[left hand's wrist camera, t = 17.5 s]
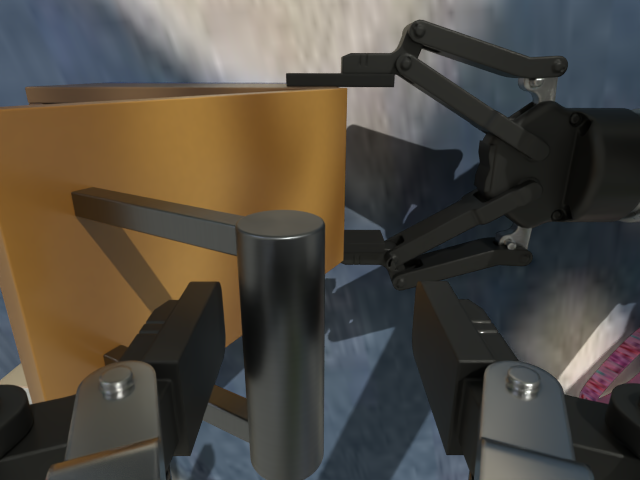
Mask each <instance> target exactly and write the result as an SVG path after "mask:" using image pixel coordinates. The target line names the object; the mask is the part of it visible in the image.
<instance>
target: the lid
mask: <svg viewBox="0 0 640 480" xmlns="http://www.w3.org/2000/svg"><path fill="white" fill-rule="evenodd" d="M346 118H347V88H323V89H306V90H288V91H271V92H253V93H236V94H218V95H201V96H183V97H166V98H148V99H131V100H113V101H96V102H78V103H61V104H44V105H26V106H9V107H0V287H1V291H2V294H3V298H4V302H5V305H6V309H7V313H8V316H9V320H10V324H11V327H12V331H13V335H14V338H15V342H16V346H17V349H18V353H19V357H20V360H21V364H22V368H23V371H24V375H25V379H26V382H27V386H28V390H29V393H30V397H31V400H32V404H34V403H39V402H44V401H49V400H54V399H58V398H63V397H67V396H71V395H74V394H76V392H77V388H78V386H79V384H80V383H81V382H82V381H83V379H84V378H86V377H87V376H88V375H89V374H91V373H92V372H94V371H95V370H97V369H99V368H101V367H103V366H106V365H109V364H112V363H116V362H118V361H119V359H120V358H121V357H122V355H123V354H124V352H125V351H126V349H127V348H128V347H129V345H130V344H131V342H132V341H133V339H134V338H135V336H136V335H137V334H139V331H140V329H141V328H142V326H143V325H144V324H146V321H147V319H148V318H149V316H150V315H151V314H152V312H153V311H154V310H155V309H156V308H158V307H159V306H161V305H162V304H164V303H165V302H167V301H168V300H179V298H180V297H181V295H182V294H183V292H184V290H185V289H186V287H187V286H188V284H189V283H190V282H192V281H219V282H220V284H221V288H222V297H223V309H224V321H225V332H226V345H225V348H226V347H227V346H228V345H230V344H231V343H232V342H234V341H235V340H236V339H238V338H239V337H240V336H242V338H243V353H244V368H245V383H246V398H247V399H246V398H244V397H242V396H239V395H237V394H235V393H232V392H230V391H228V390H225V389H223V388H221V387H219V386H216V385H214V387H213V390H212V393H211V396H210V399H209V402H208V405H207V408H206V411H205V414H204V417H203V420H204V421H206V422H208V423H210V424H212V425H214V426H216V427H218V428H220V429H222V430H224V431H226V432H228V433H230V434H232V435H234V436H236V437H238V438H240V439H243V440H245V441H247V442H249V443H250V457H251V463H252V465H253V467H254V469H255V470H256V471H257V473H258V474H259V475H261V476H262V477H263V478H265V479H267V480H304V479H306V478H307V477H309V476H310V475H312V474H313V473H314V472H315V471H316V470H317V469H318V467H319V465H320V464H321V462H322V459H323V455H324V339H325V274H326V273H327V272H328V271H330V270H331V269H333V268H334V267H335V266H337V265H338V264H339V263H341V262H342V261H343V253H344V208H345V163H346Z"/></svg>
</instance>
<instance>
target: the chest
mask: <svg viewBox="0 0 640 480" xmlns="http://www.w3.org/2000/svg"><path fill="white" fill-rule="evenodd" d="M323 88H339V87H337V86H286V83H93V84H73V85H53V86H34V87H26V88H25V90H26V94H27V99H28V102H29V103H30V104H29V105H44V104H61V103H78V102H96V101H113V100H131V99H148V98H166V97H183V96H201V95H218V94H236V93H253V92H271V91H288V90H306V89H323Z"/></svg>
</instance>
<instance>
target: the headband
mask: <svg viewBox="0 0 640 480" xmlns="http://www.w3.org/2000/svg"><path fill="white" fill-rule="evenodd" d="M639 354H640V328H639V329H637V330H636V331H635V332H634V333H633V334H632V335H631V336H629V337H628V338H627V339H626V340H625V341H624V342H623V343H622V344H621V345H620V346H619V347H618V348H617V349H616V350H615V351H614V352H613V354H612V355H611V356H610V357H609V358H608V359H607V360H606V361H605V362H604V363H603V364H602V365H601V366H600V368H599V369H598V370H597V371H596V372H595V373H594V374H593V376H592V377H591V378H590V379H589V380H588V382H587V383H586V384H585V386H584V387H583V389H582V391H581V393H580V396H579V398H582V399H587V400H591V401H596V402H601V403H606V404H608V403H609V400H610V396H611V393H610V394H608V395H606V396H604V397H601V398H599V397H600V395H601V394H602V393H603V392H604V390H605V389H606V388H607V387H608V386H609V385H610V384H611V383H612V381H613V380H614V379H615V378H616V377H617V376H618V375H619V374H620V373H621V372H622V371H623V370H624V369H625V368H626V367H627V366H628V365H629V364H630V363H631V362H632V361H633V360H634V359H635V358H636V357H637V356H638V355H639ZM627 383H638V384H640V372H639V373H638V374H637V375H636V376H635V377H634V378H632V379H631V380H630V381H629V382H627ZM598 398H599V399H598Z"/></svg>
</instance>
